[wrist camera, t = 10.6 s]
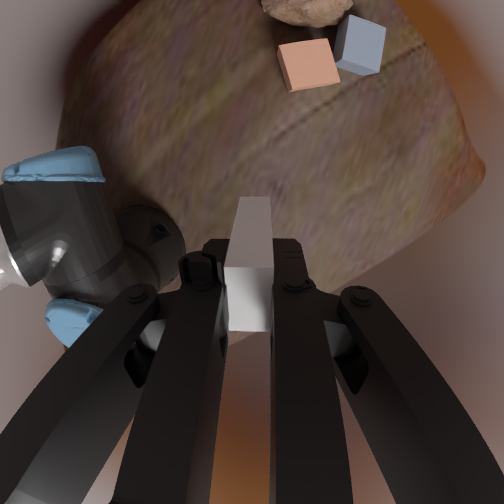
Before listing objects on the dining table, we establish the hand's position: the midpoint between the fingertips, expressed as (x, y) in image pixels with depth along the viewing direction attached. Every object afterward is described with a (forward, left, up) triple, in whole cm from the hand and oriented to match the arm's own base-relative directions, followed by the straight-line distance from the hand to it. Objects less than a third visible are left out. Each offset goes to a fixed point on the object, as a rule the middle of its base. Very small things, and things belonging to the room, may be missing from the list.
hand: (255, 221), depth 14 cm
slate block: (+13, +16, -27) cm, 34 cm away
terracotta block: (+6, +12, -27) cm, 30 cm away
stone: (+5, +24, -27) cm, 36 cm away
